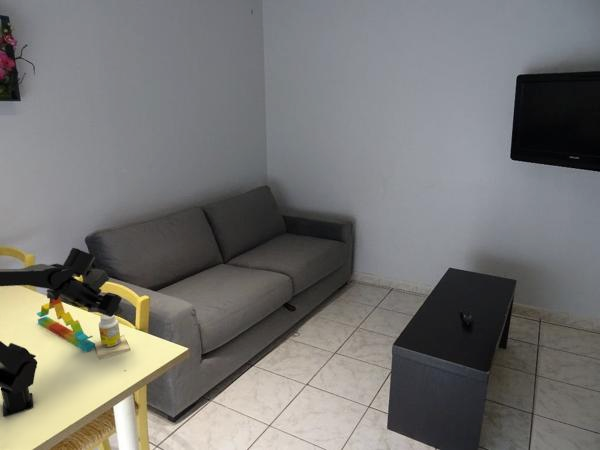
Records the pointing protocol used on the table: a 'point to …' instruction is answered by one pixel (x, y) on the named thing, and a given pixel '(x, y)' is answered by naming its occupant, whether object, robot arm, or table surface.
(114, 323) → the supplement bottle
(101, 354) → the wooden pad
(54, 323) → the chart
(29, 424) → the table surface
